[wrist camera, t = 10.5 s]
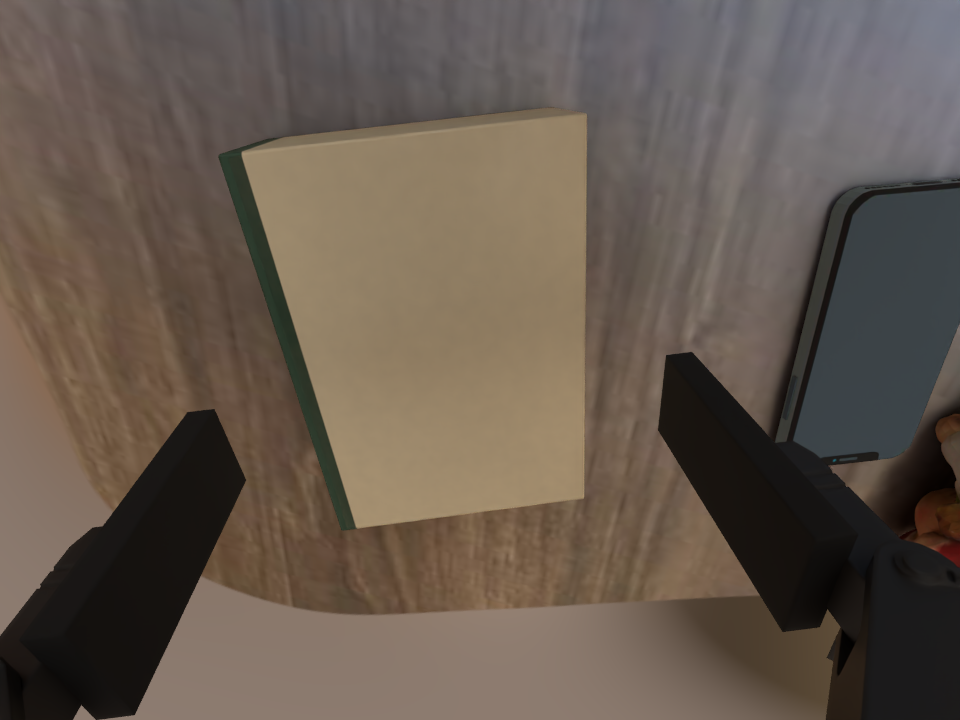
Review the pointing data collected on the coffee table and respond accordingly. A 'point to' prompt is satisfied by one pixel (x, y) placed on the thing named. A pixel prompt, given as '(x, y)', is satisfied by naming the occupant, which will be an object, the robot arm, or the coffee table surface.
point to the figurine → (942, 501)
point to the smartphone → (876, 322)
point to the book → (429, 306)
